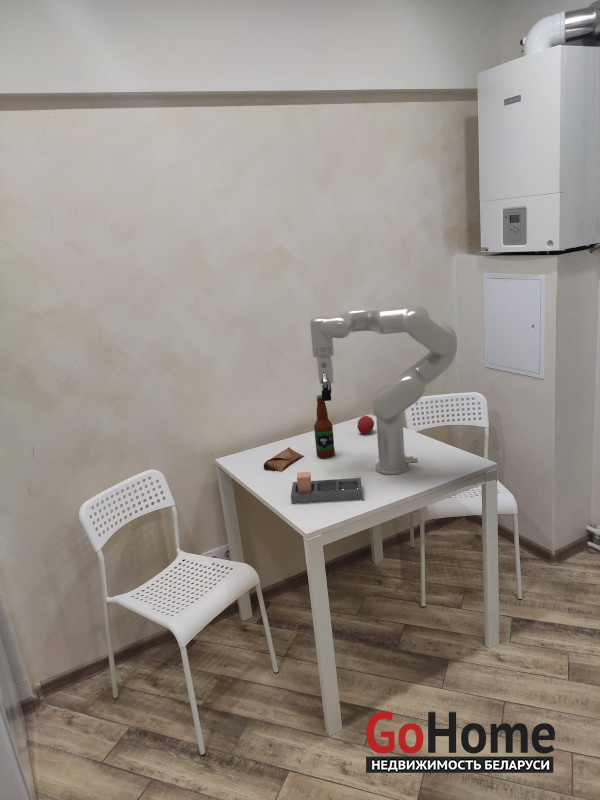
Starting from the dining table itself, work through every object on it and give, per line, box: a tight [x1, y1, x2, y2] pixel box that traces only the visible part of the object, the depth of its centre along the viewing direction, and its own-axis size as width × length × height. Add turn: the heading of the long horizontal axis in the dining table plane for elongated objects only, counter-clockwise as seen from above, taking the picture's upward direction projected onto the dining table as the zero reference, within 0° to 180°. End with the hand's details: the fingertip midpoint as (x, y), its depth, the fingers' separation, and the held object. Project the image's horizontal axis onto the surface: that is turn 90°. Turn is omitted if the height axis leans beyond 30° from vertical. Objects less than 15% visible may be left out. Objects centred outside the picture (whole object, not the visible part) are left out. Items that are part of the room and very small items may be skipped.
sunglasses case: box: [263, 446, 305, 473], centre depth 242 cm, size 18×7×7 cm, turn 149°
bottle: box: [313, 394, 336, 459], centre depth 242 cm, size 7×7×25 cm
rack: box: [290, 477, 364, 505], centre depth 210 cm, size 24×11×3 cm, turn 87°
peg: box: [296, 471, 312, 492], centre depth 210 cm, size 4×4×8 cm
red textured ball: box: [357, 415, 375, 435], centre depth 265 cm, size 8×8×8 cm
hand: (327, 396), depth 225 cm, fingers open, 9 cm apart
